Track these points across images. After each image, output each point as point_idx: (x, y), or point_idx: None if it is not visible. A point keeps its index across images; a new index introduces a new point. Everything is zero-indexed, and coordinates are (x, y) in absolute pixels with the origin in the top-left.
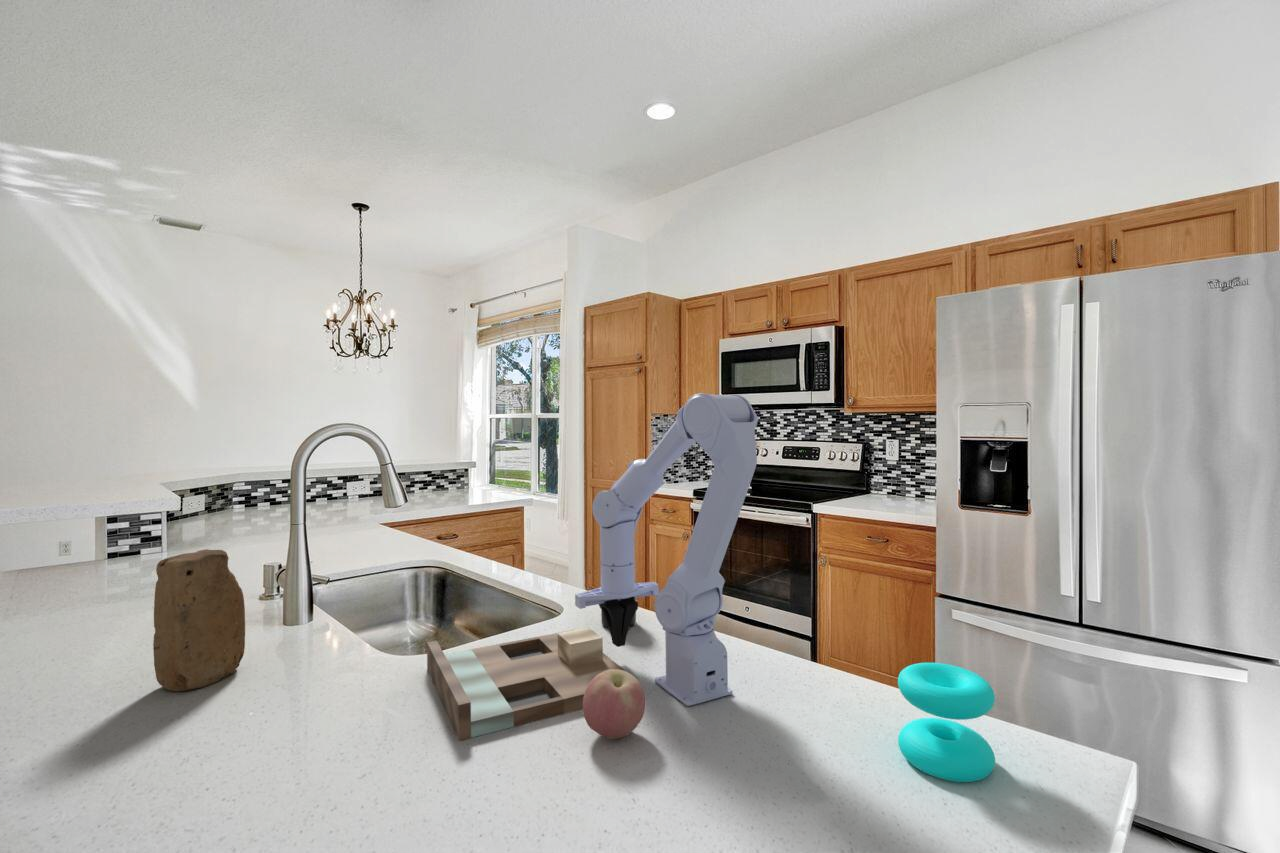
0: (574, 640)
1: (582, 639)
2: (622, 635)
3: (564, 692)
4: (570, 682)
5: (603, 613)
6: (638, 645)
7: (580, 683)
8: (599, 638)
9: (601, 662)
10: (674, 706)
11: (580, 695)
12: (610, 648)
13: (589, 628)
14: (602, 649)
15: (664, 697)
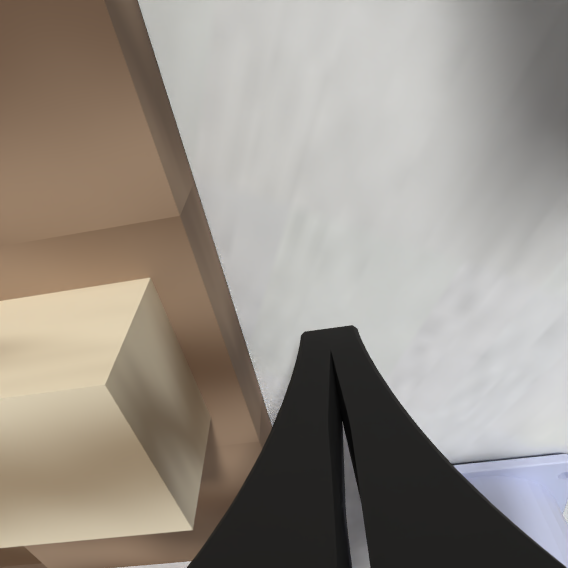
0: (13, 522)
1: (64, 522)
2: (349, 449)
3: (50, 553)
4: None
5: (225, 519)
6: (555, 104)
7: None
8: (173, 530)
9: None
10: (364, 555)
11: (103, 566)
12: (345, 90)
13: (112, 401)
14: (202, 464)
15: (362, 527)
